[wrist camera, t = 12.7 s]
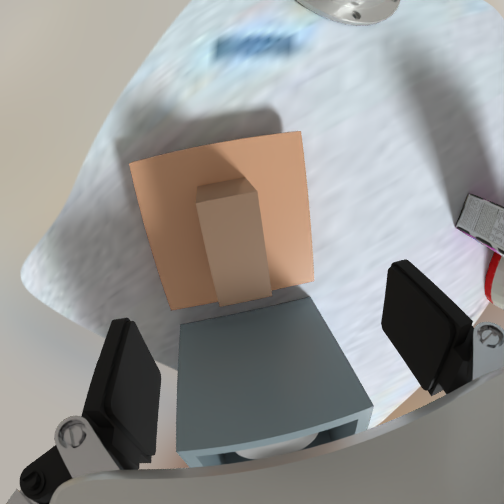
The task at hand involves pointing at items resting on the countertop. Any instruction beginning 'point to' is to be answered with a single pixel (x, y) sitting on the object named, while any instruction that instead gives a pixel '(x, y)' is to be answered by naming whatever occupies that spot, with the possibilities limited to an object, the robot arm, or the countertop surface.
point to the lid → (227, 219)
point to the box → (263, 384)
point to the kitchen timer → (495, 281)
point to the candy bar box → (483, 222)
